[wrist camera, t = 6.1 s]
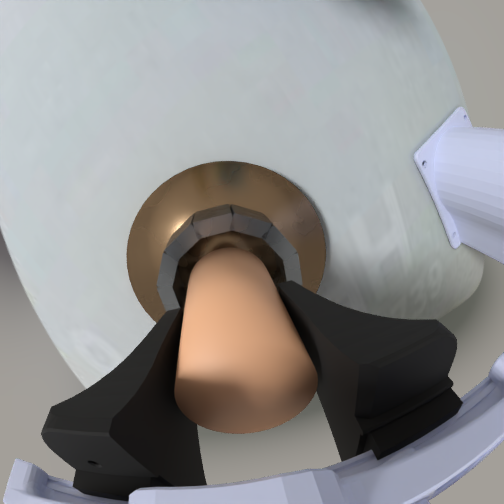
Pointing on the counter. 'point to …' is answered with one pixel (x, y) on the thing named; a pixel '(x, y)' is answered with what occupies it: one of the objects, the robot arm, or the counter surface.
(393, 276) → the counter surface
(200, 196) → the ring collar
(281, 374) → the peg
